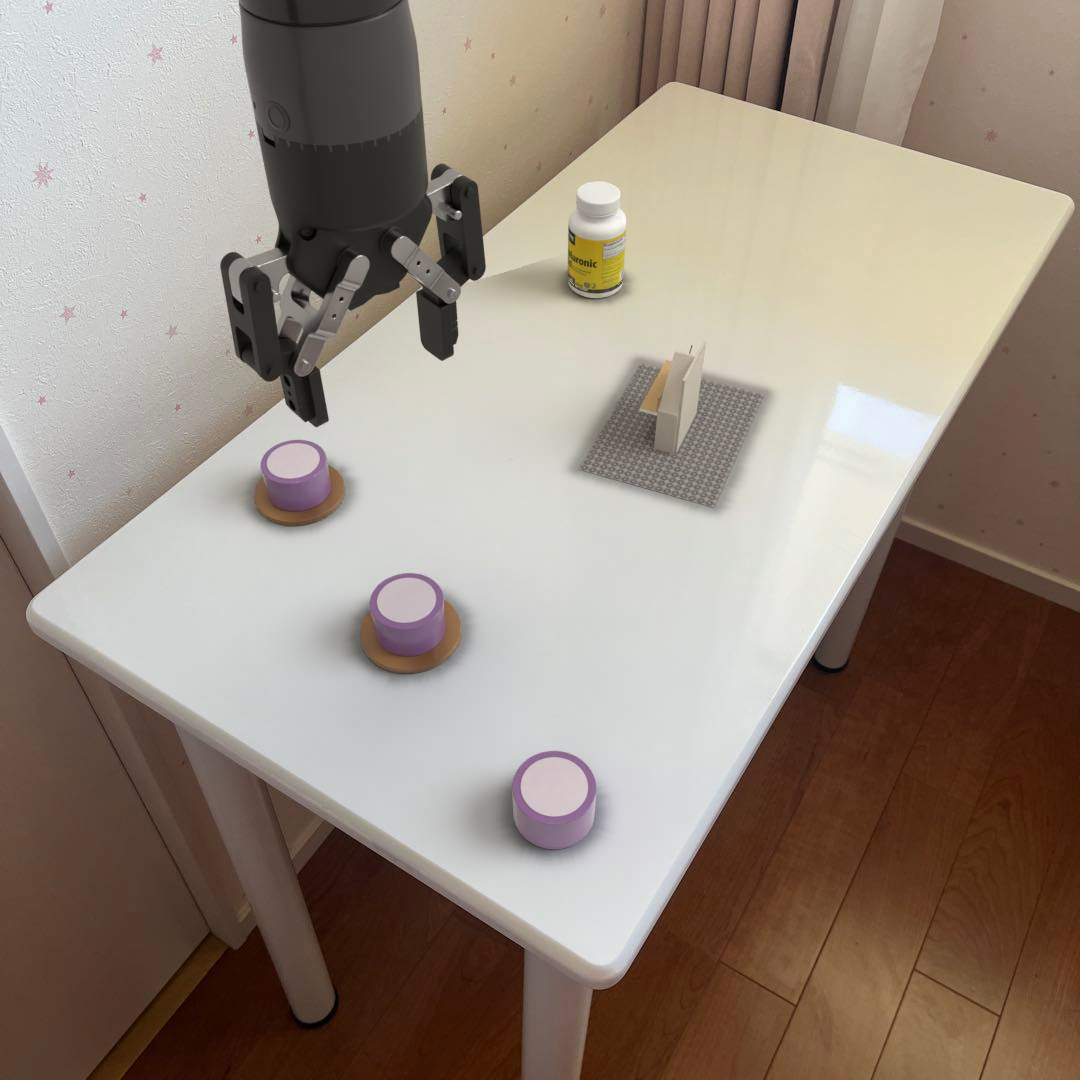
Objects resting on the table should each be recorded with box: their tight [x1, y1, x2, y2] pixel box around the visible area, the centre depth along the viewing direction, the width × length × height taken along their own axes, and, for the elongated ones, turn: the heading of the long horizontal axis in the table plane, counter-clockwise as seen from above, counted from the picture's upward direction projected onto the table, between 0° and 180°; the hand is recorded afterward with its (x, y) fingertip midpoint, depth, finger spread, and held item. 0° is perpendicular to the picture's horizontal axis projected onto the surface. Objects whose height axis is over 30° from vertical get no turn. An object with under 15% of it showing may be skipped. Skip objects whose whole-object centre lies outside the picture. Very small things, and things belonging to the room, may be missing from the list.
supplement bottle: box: [567, 180, 627, 299], centre depth 103 cm, size 5×5×10 cm
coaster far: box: [253, 464, 346, 527], centre depth 87 cm, size 7×7×1 cm
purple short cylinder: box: [259, 439, 332, 511], centre depth 85 cm, size 5×5×3 cm
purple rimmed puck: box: [511, 750, 597, 850], centre depth 67 cm, size 5×5×3 cm
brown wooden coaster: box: [359, 599, 462, 675], centre depth 77 cm, size 7×7×1 cm
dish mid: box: [369, 572, 446, 656], centre depth 76 cm, size 5×5×3 cm
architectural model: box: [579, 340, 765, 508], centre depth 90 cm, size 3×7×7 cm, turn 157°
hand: (376, 384), depth 61 cm, fingers open, 8 cm apart
